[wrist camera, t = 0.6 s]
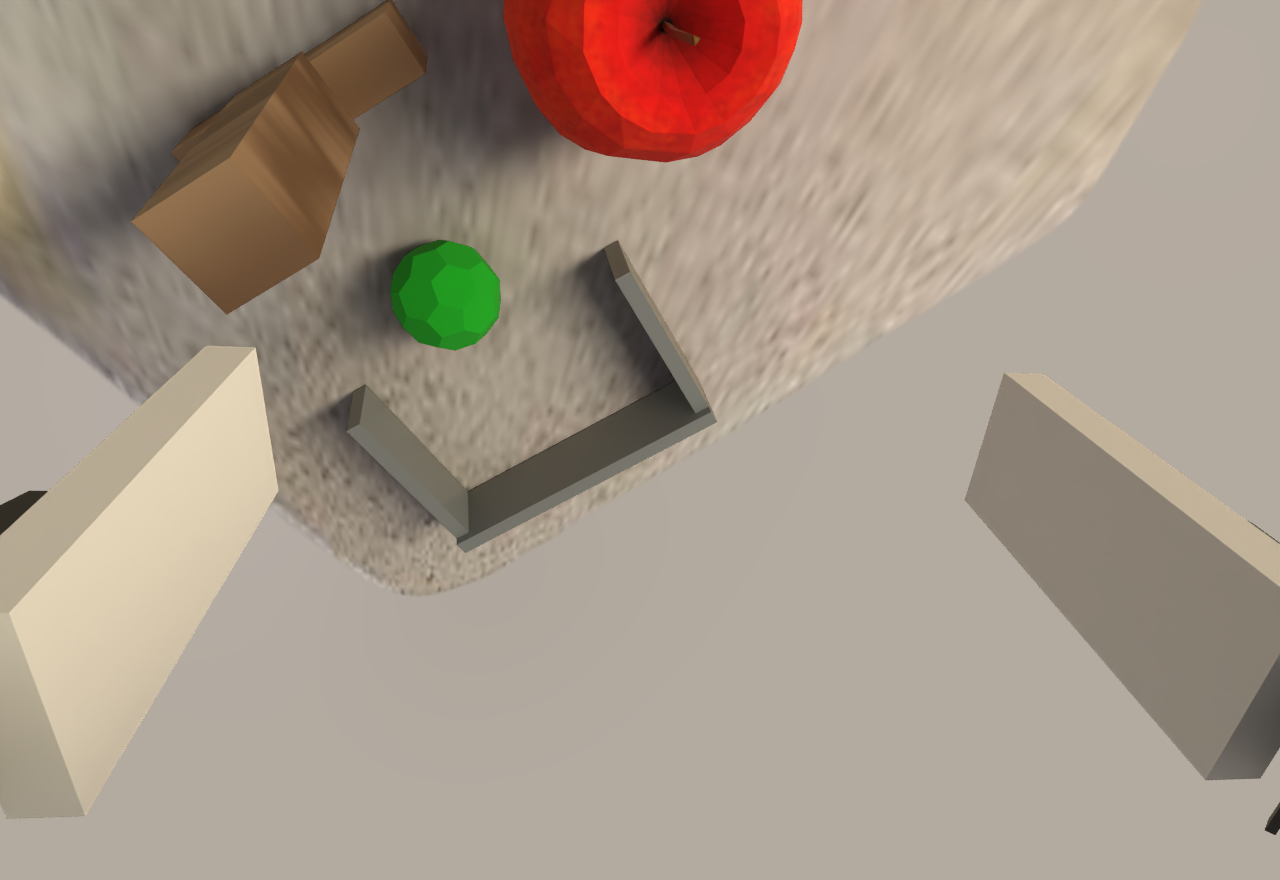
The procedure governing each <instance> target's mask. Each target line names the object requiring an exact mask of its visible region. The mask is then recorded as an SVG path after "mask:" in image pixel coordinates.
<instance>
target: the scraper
mask: <svg viewBox="0 0 1280 880" xmlns="http://www.w3.org/2000/svg"><path fill="white" fill-rule="evenodd" d="M427 57H428V56H427V54H426V53H425V51H424V49H423V48H422V46H421V45H420V43H419V42H418V40H417V39H416V37H415V36H414V34H413V32H412V31H411V29H410V28H409V26H408V25H407V23H406V22H405V20H404V19H403V17H402V15H401V14H400V12H399V11H398V9H397V8H396V6H395V5H394V3H393V2H392V0H387V1H385V2H384V3H382V4H381V5H379V6H378V7H376V8H375V9H373V10H372V11H370V12H369V13H367V14H366V15H364V16H363V17H361V18H360V19H358V20H357V21H355V22H353V23H352V24H350V25H349V26H347V27H346V28H344V29H343V30H341V31H340V32H338V33H337V34H335V35H334V36H332V37H331V38H329V39H328V40H326V41H325V42H323V43H322V44H320V45H319V46H317V47H316V48H314V49H313V50H311V51H310V52H308V53H306V54H305V55H304V53H303V52H300V53H299V54H297V55H296V56H294V57H293V58H291V59H290V60H288V61H287V62H285V63H284V64H282V65H281V66H279V67H278V68H276V69H275V70H273V71H272V72H270V73H269V74H267V75H266V76H264V77H263V78H261V79H260V80H258V81H257V82H255V83H253V84H252V85H250V86H249V87H247V88H246V89H244V90H243V91H241V92H240V93H238V94H237V95H235V96H234V97H233V98H232V99H231V100H230V101H229V103H228V104H227V105H226V106H225V107H224V108H223V109H222V110H220V111H219V112H217V113H216V114H214V115H212V116H211V117H209V118H208V119H206V120H205V121H203V122H202V123H200V124H199V125H197V126H196V127H194V128H193V129H191V130H190V131H189V133H188V134H187V135H186V136H185V137H184V138H183V139H182V141H181V142H180V143H179V144H178V145H177V146H176V147H175V149H174V150H173V151H172V152H171V154H172V155H173V156H174V157H175V158H176V159H177V160H178V161H179V164H178V165H177V166H176V167H175V168H174V170H173V171H172V172H171V173H170V175H169V176H168V177H167V178H166V179H165V181H164V182H163V183H162V184H161V186H160V187H159V188H158V189H157V190H156V192H155V193H154V194H153V195H152V196H151V198H150V199H149V200H148V201H147V203H146V204H145V205H144V206H143V207H142V209H141V210H140V211H139V212H138V214H137V215H136V216H135V217H134V218H133V220H132V221H131V222H132V223H133V224H134V225H135V226H136V227H137V228H138V229H139V230H140V231H141V232H142V233H143V234H144V235H145V236H146V237H147V238H148V239H150V240H151V241H152V242H153V243H154V244H155V245H156V246H157V247H158V248H159V249H160V250H161V251H162V252H163V253H164V254H165V255H166V256H167V257H168V258H169V259H170V260H171V261H172V262H173V263H174V264H175V265H176V266H177V267H178V268H179V269H180V270H181V271H182V272H183V273H185V274H186V275H187V276H188V277H189V278H190V279H191V280H192V281H193V282H194V283H195V284H196V285H197V286H198V287H199V288H200V289H201V290H202V291H203V292H204V293H205V294H206V295H207V296H208V297H209V298H210V299H211V300H212V301H213V302H214V303H215V304H216V305H217V306H218V307H219V308H221V309H222V310H223V311H224V312H225V313H226V314H229V313H230V312H232V311H233V310H235V309H237V308H238V307H240V306H242V305H243V304H245V303H247V302H248V301H250V300H252V299H253V298H255V297H256V296H258V295H260V294H261V293H263V292H265V291H266V290H268V289H270V288H271V287H273V286H275V285H276V284H278V283H279V282H281V281H283V280H284V279H286V278H288V277H289V276H291V275H293V274H294V273H296V272H298V271H299V270H301V269H302V268H304V267H306V266H307V265H309V264H311V263H312V262H314V261H316V260H317V259H319V257H320V254H321V250H322V247H323V244H324V241H325V238H326V234H327V231H328V228H329V225H330V222H331V219H332V215H333V212H334V209H335V206H336V203H337V200H338V196H339V193H340V190H341V187H342V184H343V181H344V177H345V174H346V171H347V168H348V165H349V162H350V158H351V155H352V152H353V149H354V146H355V143H356V139H357V136H358V133H359V130H360V128H359V127H358V126H357V124H356V123H355V122H354V120H353V119H355V118H356V117H358V116H360V115H361V114H363V113H364V112H366V111H367V110H369V109H371V108H372V107H374V106H375V105H377V104H378V103H380V102H382V101H383V100H385V99H386V98H388V97H389V96H391V95H393V94H394V93H396V92H397V91H399V90H400V89H402V88H404V87H405V86H407V85H408V84H410V83H411V82H413V81H415V80H416V79H418V78H419V77H421V76H422V75H424V74H425V73H426V65H427Z"/></svg>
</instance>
